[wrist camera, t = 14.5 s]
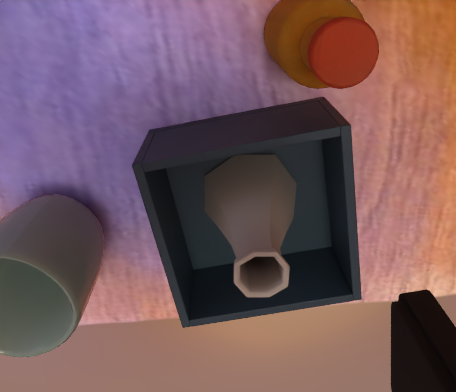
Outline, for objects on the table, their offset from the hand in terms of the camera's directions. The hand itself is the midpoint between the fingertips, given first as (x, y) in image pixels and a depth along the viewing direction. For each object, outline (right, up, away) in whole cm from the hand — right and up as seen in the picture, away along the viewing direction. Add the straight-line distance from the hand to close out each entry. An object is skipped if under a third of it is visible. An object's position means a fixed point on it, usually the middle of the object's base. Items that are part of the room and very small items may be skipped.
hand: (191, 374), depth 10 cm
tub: (+3, +4, +23) cm, 24 cm away
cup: (-12, +2, +25) cm, 28 cm away
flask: (+2, +4, +23) cm, 23 cm away
